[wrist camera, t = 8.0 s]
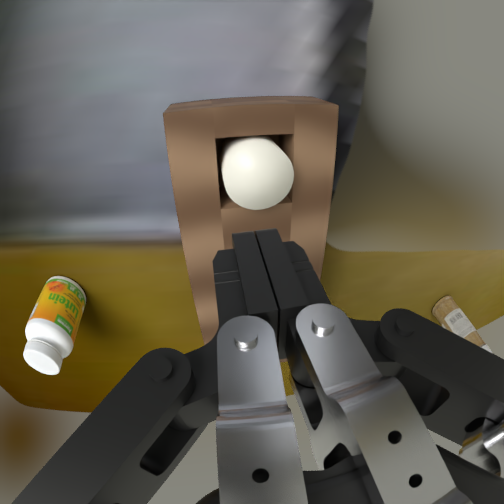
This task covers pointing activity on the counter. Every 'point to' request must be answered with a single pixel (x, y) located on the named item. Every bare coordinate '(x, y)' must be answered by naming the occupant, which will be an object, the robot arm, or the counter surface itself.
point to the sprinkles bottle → (456, 321)
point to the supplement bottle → (54, 324)
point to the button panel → (214, 193)
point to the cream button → (255, 171)
